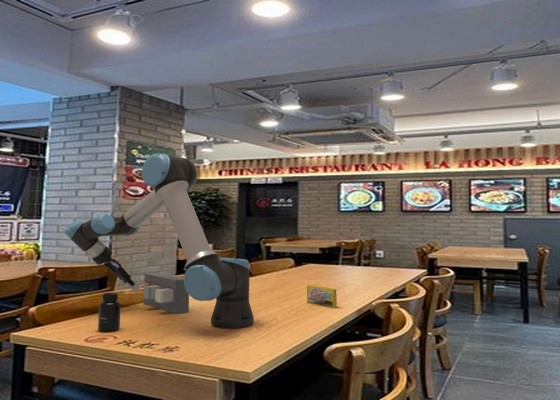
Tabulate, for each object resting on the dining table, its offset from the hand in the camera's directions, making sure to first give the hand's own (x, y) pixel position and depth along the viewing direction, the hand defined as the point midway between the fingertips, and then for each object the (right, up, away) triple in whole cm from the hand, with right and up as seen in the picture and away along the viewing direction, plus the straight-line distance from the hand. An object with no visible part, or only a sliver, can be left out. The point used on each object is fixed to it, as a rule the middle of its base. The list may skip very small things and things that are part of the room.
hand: (137, 289), depth 193 cm
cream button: (+17, -2, -15) cm, 22 cm away
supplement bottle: (+4, -5, -43) cm, 43 cm away
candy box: (+79, -8, +2) cm, 79 cm away
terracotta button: (+6, -2, +5) cm, 8 cm away
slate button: (+9, -2, -7) cm, 12 cm away
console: (+13, -7, -4) cm, 15 cm away
